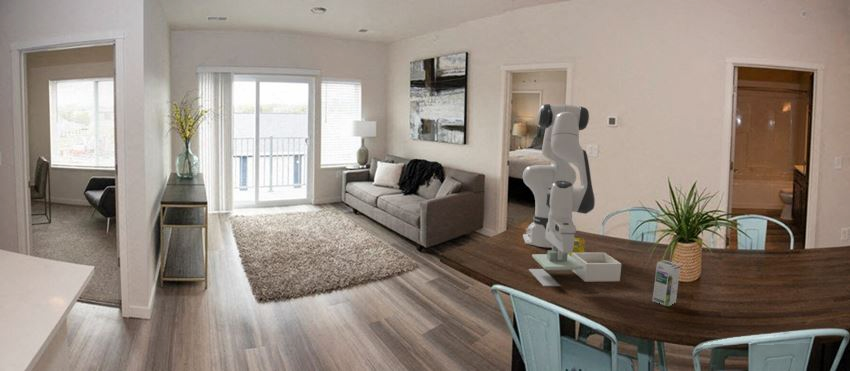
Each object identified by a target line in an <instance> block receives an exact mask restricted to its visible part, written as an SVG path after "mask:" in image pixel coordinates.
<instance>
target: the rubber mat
mask: <svg viewBox="0 0 850 371" xmlns="http://www.w3.org/2000/svg"><path fill="white" fill-rule="evenodd" d="M528 271H529V273H531V274H532V275H533V277H534V278H535V279H536V280H537V281H538V282H539V283H540V284H541V285H542V286H543V287H562V285H561V284H560V283H559V282H558V281H557V280H556V279H555V278H554V276H552V274H550V273H549V272H548V270H547V269H544V268H528Z"/></svg>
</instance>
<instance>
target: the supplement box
mask: <svg viewBox="0 0 850 371" xmlns="http://www.w3.org/2000/svg"><path fill="white" fill-rule="evenodd" d="M585 247H586V241H585V239H584V238H583V237H582V238H581V237H575V238H574V247H573V251H572V253H585V249H586V248H585ZM572 253H568V255H570V256H572Z"/></svg>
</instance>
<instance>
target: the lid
mask: <svg viewBox="0 0 850 371" xmlns="http://www.w3.org/2000/svg"><path fill="white" fill-rule="evenodd" d="M557 254H558V249H557V250H552V249H551V250H549V249H548V250H547V253H540V254H539V253H536V254H535V253H534V254H532V255H531V256H532V258H533V259H534V260H535V261H536V262H537V263H538V264H539V265H540V266H541V267H542V269H545V270H546V271H572V270H577V269H583V266H582V265H581V264H580V263H579V262H577V261H576V260H575V259H573V258H572V257H571V256H570V255H568V253H564V254H563V256H562V260H558V259H557V258H556V257H557Z"/></svg>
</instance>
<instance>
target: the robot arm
mask: <svg viewBox="0 0 850 371" xmlns="http://www.w3.org/2000/svg"><path fill="white" fill-rule="evenodd" d="M536 120H537V124H538V126H540V127H541V128H544V134H543V135H544V136H543V141H542V147H541V152H542V155H543V156H544V157H545V158H546V159H547V160H549V161H551V163H550V164H534V165H530V166H526V167H525V168H524V170H523V173H522V180H523V183H524V184H525V185H526V187H528V188H529V190H531V192H532V194H533V195H534V196H533V197H534V200H535V202H534V203H535V206H534V208H535V209H534V211H535V212H534V214H533V218H532V221H533V222H531V223H529V225H528V226H527V228H525V233H524V234H523V235H522V238H523V240H524V243H525V244H526V245H531V246H535V247H538V248H539V247H540V248H551V250H558V254H557V257H556V258H557V259H558V260H562V256H563V254H564V253H572V251H573V247H574V238H576V237H575V234H576V232H577V227H576V225H575V224H574V222H573V213H579V214H585V215H586V214H588V213H590V212H592V211H593V210H594V208H595V205H596V198H595V197H596V196H595V194H594V190H593V184H592V178H591V177H592V176H591V169H590V168H591V167H590V162H589V157H588V154H587V151H586V150H585V149H583V148H582V147H581V144H580V140H579V139H580V131H583V130H584V129H587V126H588V124H589V122H590V113H589V110H588V109H587V108H586V107H584V106H580V105H579V106H577V105H571V104H550V103H546V104H545V103H544V104H542V105H541V106H540V107H539V109H538V111H537V113H536ZM569 163H570V164H572V165H573V166H575V168H577V170H578V172H579V179H580V187H574V184H575V182H576V181H577V172H576V171H575V170H576V169H574V167H573V166H571V165H570V164H569ZM572 212H573V213H572Z"/></svg>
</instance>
